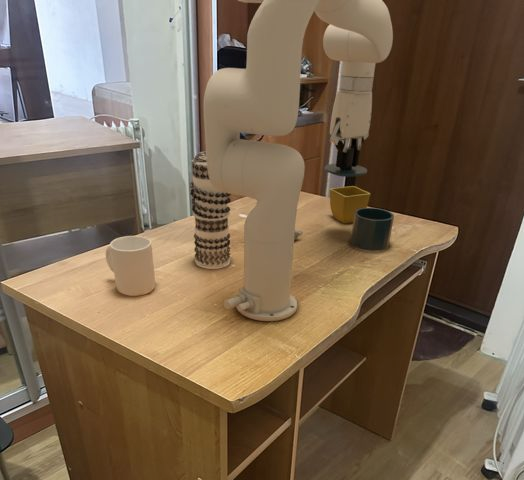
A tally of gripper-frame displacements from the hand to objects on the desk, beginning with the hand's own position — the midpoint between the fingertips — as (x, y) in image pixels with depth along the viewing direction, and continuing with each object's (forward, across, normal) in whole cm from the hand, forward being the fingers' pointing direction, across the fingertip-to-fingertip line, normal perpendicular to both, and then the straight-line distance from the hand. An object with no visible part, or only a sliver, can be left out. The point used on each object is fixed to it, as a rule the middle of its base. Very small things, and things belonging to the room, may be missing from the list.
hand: (346, 166), depth 125 cm
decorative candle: (+19, +37, -7) cm, 42 cm away
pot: (+19, -3, +9) cm, 21 cm away
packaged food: (+19, +17, -6) cm, 26 cm away
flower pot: (+19, -12, -7) cm, 24 cm away
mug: (+19, +59, -7) cm, 63 cm away
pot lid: (+1, 0, 0) cm, 1 cm away
